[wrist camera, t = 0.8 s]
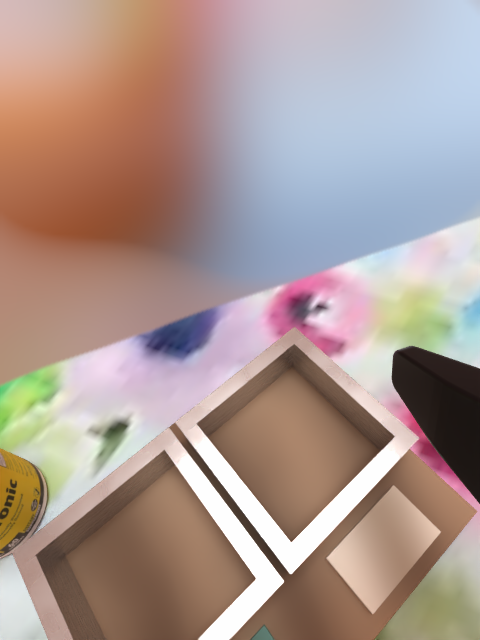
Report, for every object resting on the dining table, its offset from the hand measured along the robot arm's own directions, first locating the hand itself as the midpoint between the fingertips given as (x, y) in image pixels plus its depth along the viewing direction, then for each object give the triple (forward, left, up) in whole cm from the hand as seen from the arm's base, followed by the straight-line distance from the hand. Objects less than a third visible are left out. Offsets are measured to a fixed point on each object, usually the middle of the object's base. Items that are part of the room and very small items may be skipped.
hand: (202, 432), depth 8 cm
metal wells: (0, +1, -15) cm, 15 cm away
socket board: (-1, 0, -16) cm, 16 cm away
